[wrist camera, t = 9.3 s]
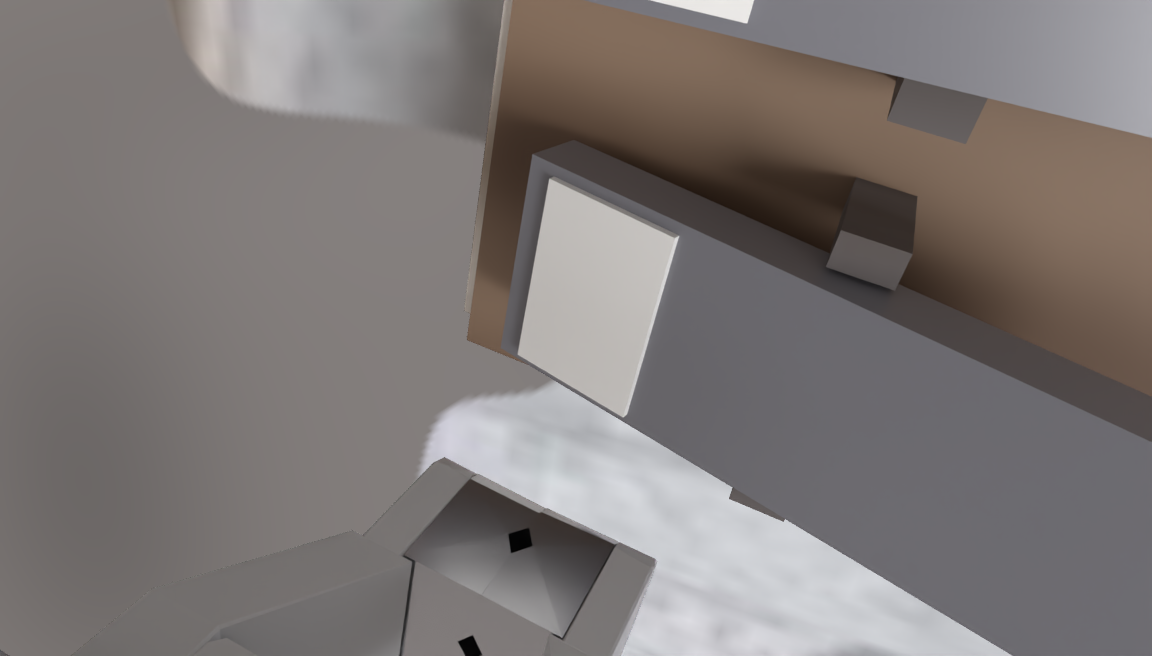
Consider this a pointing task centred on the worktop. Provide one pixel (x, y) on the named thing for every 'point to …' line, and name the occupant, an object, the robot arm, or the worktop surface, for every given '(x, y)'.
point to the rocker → (845, 405)
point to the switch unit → (834, 174)
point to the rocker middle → (962, 45)
